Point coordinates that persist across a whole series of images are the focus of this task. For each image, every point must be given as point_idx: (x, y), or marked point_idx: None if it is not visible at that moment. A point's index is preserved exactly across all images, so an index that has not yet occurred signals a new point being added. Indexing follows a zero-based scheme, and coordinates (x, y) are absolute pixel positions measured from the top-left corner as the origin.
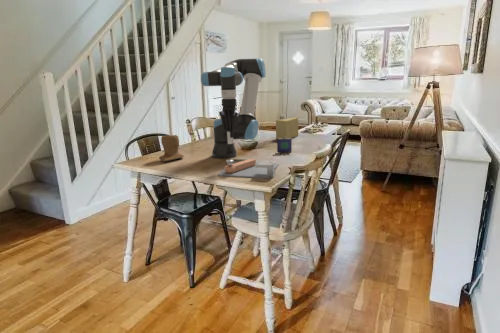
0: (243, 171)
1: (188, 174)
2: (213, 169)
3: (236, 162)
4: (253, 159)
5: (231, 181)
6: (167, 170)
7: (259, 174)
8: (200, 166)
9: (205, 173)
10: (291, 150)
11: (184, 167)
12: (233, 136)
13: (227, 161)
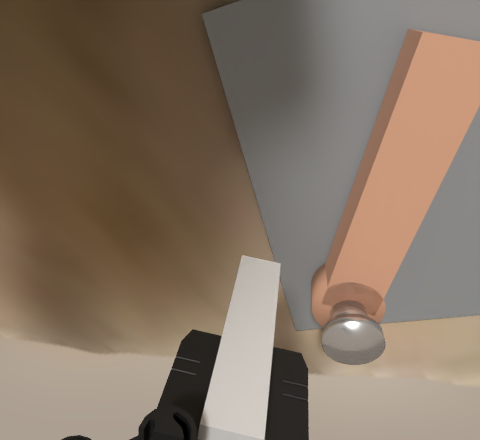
0: (427, 244)
1: (148, 340)
2: (193, 239)
3: (246, 30)
4: (478, 48)
5: (413, 370)
6: (13, 320)
7: None
8: (73, 212)
9: (208, 309)
10: None
11: (23, 259)
12: (306, 375)
13: (347, 361)
